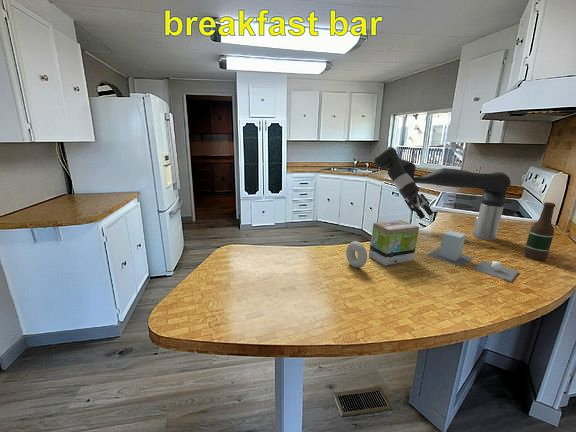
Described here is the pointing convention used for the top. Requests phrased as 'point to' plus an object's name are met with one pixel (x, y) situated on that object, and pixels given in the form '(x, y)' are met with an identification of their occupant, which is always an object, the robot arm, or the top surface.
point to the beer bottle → (540, 235)
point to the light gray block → (452, 245)
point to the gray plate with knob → (496, 270)
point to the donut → (361, 254)
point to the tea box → (393, 242)
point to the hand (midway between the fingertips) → (427, 216)
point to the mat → (460, 262)
